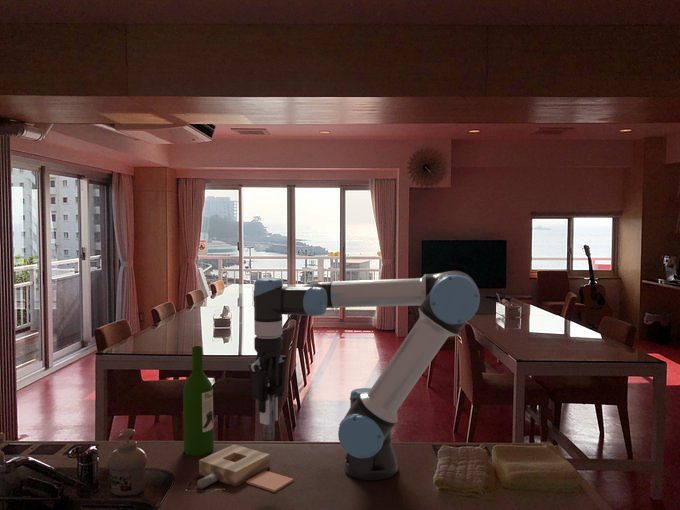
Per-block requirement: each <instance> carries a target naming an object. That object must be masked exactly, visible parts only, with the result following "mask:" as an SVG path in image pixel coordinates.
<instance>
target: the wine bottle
mask: <svg viewBox="0 0 680 510" xmlns="http://www.w3.org/2000/svg"><path fill="white" fill-rule="evenodd" d="M191 355H192V357H191V359H192V361H191V363H192V364H191V365H192V367H191V368H192V369H191V370H192V371H191V373H190V374H189V376H188V378H187V379H186V380H185V381H186V382H185V383H184V385H183V388H182V401H183V403H182V404H183V405H182V406H183V410H182V412H183V413H182V414H183V417H182V419H183V451H184V454H186V455H187V456H193V457H197V456H198V457H200V456H205V455H208V454H210V453H211V452H213V450H214V394H213V393H214V389H213V385H212V382H211V381H210V379H209V378H208V376H207V374H205V372H204V368H203V367H204V365H203V364H204V363H203V346H201V345H196V346H192V354H191Z"/></svg>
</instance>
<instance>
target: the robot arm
mask: <svg viewBox="0 0 680 510" xmlns="http://www.w3.org/2000/svg"><path fill="white" fill-rule="evenodd" d="M253 286H254V287H253V289H254V290H253V291H254V292H253V315H254V317H253V318H254V319H253V320H254V321H253V322H254V324H253V325H254V329H253V330H254V336H255V337H254V338H253V341H254V342H253V345H254V351H255V352H256V356H255V361H254V362H253V363H249V364H248V368H249V371H250V380H251V392H252V399H253V400H257V401H258V412H259V424H266V425H268V424H269V400H267V393H268V383H269V384H274V385H279V386H282V394H280V395H277V396H275V395H274V422H278V421H279V407H280V406H279V403H280V401H279V397H282V395H283V393H284V391H285V379H286V378H285V377H286V363H287V361H288V356H286V355H282V354H281V351H282V350H283V336H282V335H283V315H285V316H286V315H289V316H291V315H293V316H296V315H297V316H309V317H314V316H324V315H325V313H326V311H327V309H333V308H334V309H335V308H366V307H367V308H369V307H370V308H375V307H377V308H378V307H408V306H409V307H410V306H411V307H412V306H415V307H416V306H419V307H418V313H419V318H418V319H417V321H416V322H415V323H414V325H413V327H412V328H411V330H410V331H409V333H408V334H407V335H406V337H405V338H404V340H403V341H402V342H401V344H400V346H398V348H397V350H396V351H395V352H394V354H393V356H392V357H391V359H390V361H389V362H388V363H387V365H386V366H385V368H384V369H383V371H382V372H381V373H380V375H379V377H378V378H377V379H376V381H375V382H374V384H373V385H372V387H362V388H355V389H352V391H350V397H349V400H350V406H349V409H348V411H347V413H346V415H345V416H344V418H343V419H342V420H341V422H340V423H339V427H338V432H337V435H338V440H339V443H340V446H341V447H342V448H343V450H344V451H345V452H346V455H345V458H344V471H345V473H346V474H347V475H348V476H350V477H352V478H354V479H357V480H363V481H381V480H386V479H389V478H392V477H393V476H395V475H396V474H397V472H398V460H397V456H396V454H395V451H394V447H393V445H392V429H393V428H394V426H395V425H396V424H397V422H398V420H399V419H398V413H397V412H398V410H399V409H400V407H401V405H402V404H403V403H404V401H405V400H406V399H407V397H408V395H409V394H410V392H412V390H413V388H414V387H415V386H416V384H417V383H418V381H419V380H420V378H421V377H422V375H423V374H424V373H425V371H427V370H426V369H427V368H428V367H429V365H430V364H431V362H432V361H433V359H434V358H435V356H437V354H438V352H439V351H440V349H441V348H442V347H443V345H444V344H445V343H446V341H447V340H448V338H449V337H454V336H458V335H459V333H460V332H461V330H462V329H463V327H464V326H465V325H466V323H467V322H468V321H470V320H471V318H473V317H474V316H475V315H476V313H477V312H478V310H479V306H480V302H481V295H480V291H479V287H478V286H477V284H476V282H475V280H474V279H473V277H471V275H469V274H468V273H466V272H463V271H460V270H449V271H443V272H438V273H424V274H423V276H422V277H416V278H392V279H391V278H389V279H386V278H385V279H362V280H358V279H357V280H337V281H336V280H335V281H323V280H315V281H312V282H309V283H308V284H305V285H303V286H286V285H284V284H283V280H282V279H281V278H277V277H266V278H265V277H264V278H258V279H256V280H255V281H254V285H253Z"/></svg>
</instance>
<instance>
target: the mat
mask: <svg viewBox="0 0 680 510" xmlns="http://www.w3.org/2000/svg"><path fill="white" fill-rule="evenodd" d="M293 482H294V478H291V477H290V476H285V475H282V474H278V473H275V472H272V471H270V470H269V471H268V470H265V471H263V472H261V473H260V474H258V475H256V476H254V477H252V478H250V479H249V480H247V481H245V483H246V484H248V485H250V486H254V487H257V488H260V489H264V490H266V491H268V492H272V493H277V492H278V491H280V490H281V489H283V488H285V487H286V486H288V485H289V484H291V483H293Z"/></svg>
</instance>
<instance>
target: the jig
mask: <svg viewBox="0 0 680 510" xmlns="http://www.w3.org/2000/svg"><path fill="white" fill-rule="evenodd" d="M270 457H271V455H270V453H266V452H263V451H259V450H255V449H252V448H250V447H249V448H248V447H245V446H242V445H237V444H231V445H229V446H227V447H225V448H223V449H220V450H219V451H215V452H214V453H212V454H210V455H208V456H206V457H203V458H201V459H199V460H198V474H199V475H200V476H204V477H202V478H200V479H198V480H197V486H198V487H197V488H199V489H201V490H202V489H205V488H206V487H209V486H210V485H213V484H214V483H217V482H218V481H219V482H222V483H224V484H227V485H230V486H233V487H238V486H240V485H241V484H243V483H246V481H247V480H249V479H251V478H253V477H255V476H256V475H258V474H260V473H262V472H264V471H265V470H266V471H268V470H269V469H270V468H271V467H270V466H271V463H270V462H271V461H270V460H271V458H270ZM268 468H269V469H268Z"/></svg>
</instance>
